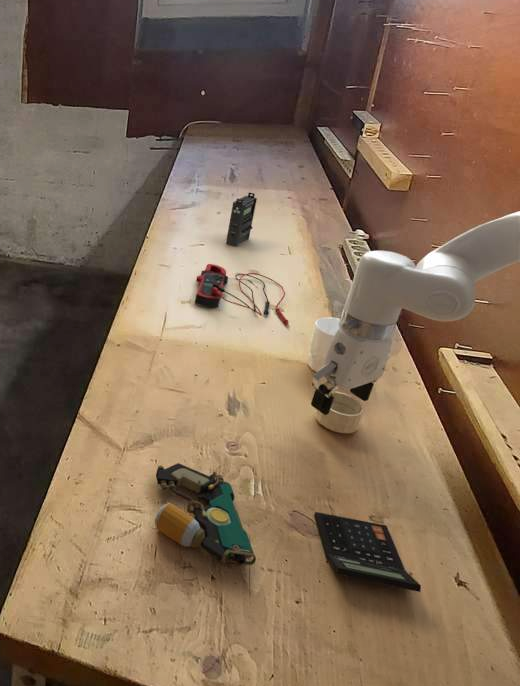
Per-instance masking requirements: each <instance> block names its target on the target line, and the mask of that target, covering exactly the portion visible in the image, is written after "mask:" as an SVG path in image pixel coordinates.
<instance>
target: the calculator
mask: <svg viewBox="0 0 520 686" xmlns="http://www.w3.org/2000/svg"><path fill="white" fill-rule="evenodd" d="M313 517H314V521H315V524H316V528H317V530H318V531H317V532H318V535H319V538H320V542H321V545H322V549H323V553H324V556H325V559H326V560H327V562H328V563H329V564H330V566H331V567H332V568H333V570H334V571H335V572H336V574H337V575H339V576H344V577H349V578H352V579H353V578H354V579H357V580H361V581H368V582H372V583H376V584H380V585H386V586H390V587H395V588H400V589H404V590H409V591H412V592H416V593H417V592H418V593H421V587H422V585H421V584H420V583H419V582H418V581H417V580H416V579H415V578H414V577H413V576H412V575H411V574H410V573H408V572H407V570H406V569H405V566H404V564H403V562H402V559H401V557H400V555H399V552H398V550H397V547H396V544H395V542H394V540H393V538H392V536H391V532H390V530H389V528H388V526H387V525H386V524H381V523H376V522H371V521H366V520H365V521H364V520H360V519H354V518H351V517H350V518H349V517H344V516H341V515H340V516H339V515H334V514H329V513H325V512H318V511H315V512H314V514H313Z"/></svg>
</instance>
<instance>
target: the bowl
mask: <svg viewBox="0 0 520 686" xmlns="http://www.w3.org/2000/svg"><path fill="white" fill-rule="evenodd" d="M332 396H333V397H334V400H333V403H332V405H331V408H330V411H329V414H327V415H324V414H323V413H321V412H320V411H318V410H317V409H315V413H314V414H315V419H316V421H318V423H319V424H320V425H321V426H323V427H324V428H325V429H328V430H329V431H331V432H334V433H339V434H352V433H355V432H357V431H358V429H359V427H360V425H361V422H362V419H363V416H364V414H365V407H364V405H363V403H361V401H360V400H358V398H356V397H354V396H353V395H350V394H348V393H345V392H341V391H336V392H335V393H334V394H333V395H332Z"/></svg>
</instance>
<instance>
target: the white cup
mask: <svg viewBox="0 0 520 686" xmlns="http://www.w3.org/2000/svg"><path fill="white" fill-rule="evenodd" d="M340 319H341V318H337V317H332V316H331V317H330V316H324V317H319V318H317V319H316V321H315V323H314V326H313V333H312V336H311V340H310V341H311V342H310V347H309V355H308V360H307V365H308V367H309V368H310V369H311V370H312V371H313V372H315V373H317V372H318V371H319V370H321V369H322V366H323V363H324V360H325V357H326V354H327V352H328V349H329V347H330V345H331V342H332V340H333V338H334V336H335V334H336V332H337V330H338V329H339V328H340V327H339V322H340ZM330 377H332V378H333V377H335V375H331V376H330Z"/></svg>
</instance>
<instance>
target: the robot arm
mask: <svg viewBox="0 0 520 686" xmlns="http://www.w3.org/2000/svg"><path fill="white" fill-rule="evenodd" d="M517 263H520V210H519V211H516V212H513V213H510V214H506V215H503V216H502V217H499V218H496V219H494V220H491V221H487V222H485V223H483V224H480V225H478V226H475V227H474V228H471V229H469V230H467V231H465V232H463V233H461V234H460V235H458V236H456V237H454V238H453V239H451V240H449V241H447V242H446V243H444V244H442V245H441V246H439V247H438V248H435V249H433V250H432V251H430V252H429V253H427V254H426V255H425V256H423V258H422V259H420V260H419V261H418V263H417V264H415V262H414V261H413V260H412V259H411V258H410V257H408V256H405V255H404V254H400V253H398V252H394V251H390V250H371V251H370V250H369V251H367V252H365V253H363V255H362V256H361V257H360V258H359V261H358V263H357V267H356V268H355V269H356V270H355V273H354V276H353V279H352V282H351V285H350V288H349V291H348V294H347V297H346V299H345V304H344V307H343V310H342V313H341V316H340V318H339V319H340V322H339V327H340V328H339V329H338V330H337V332H336V334H335V336H334V338H333V340H332V342H331V345H330V347H329V349H328V352H327V354H326V357H325V360H324V363H323V366H322V369H321V370H319V371H318V372H315V373H314V374H313V375H312V377H311V380H312V387H313V389H314V393H313V395H312V399H311V402H310V406H311V407H313V409H315V410H318V411H320V412H321V413H323V414H324V415H327V414H329V411H330V408H331V405H332V403H333V400H334V397H333V396H332V395H333V394H334V393H335V392H337V391H338V389H340V390H343V391H346V390H349V392H350V393H351V394H352V395H354V396H355V397H356V398H357V399H359V400H362V402H363V401H364V402H366V401H368V400H369V398H370V396H371V393H372V391H373V388H374V385H375V383H376V382H377V381H378V380H379V379H380V378H382V377H383V375H384V372H385V369H386V367H387V363H388V361H389V359H390V352H391V349H392V345H393V338H394V331H395V329H396V325H397V324H398V319H399V317H400V314H401V312H402V309H404V310H405V311H408V312H411V313H414V314H416V315H418V316H421V317H424V318H426V319H428V320H429V319H430V320H433V321H436V322H445V323H446V322H455V321H458V320H461V319H464V318H466V317H467V316H468V315H469V314H471V312H472V311H473V309H474V307H475V304H476V290H475V283H476V282H478V281H480V280H482V279H485V277H486V278H487V276H489V275H491V274H494V273H496V272H498V271H501V270H502V269H504V268H506V267H509V266H511V265H514V264H517ZM331 375H335V376H334V377H335V379H334V378H333V377H332V376H331ZM328 381H329V382H331V386H330V387H329V388H328V387H327V386H326V385H325V384H326V383H327V382H328Z"/></svg>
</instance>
